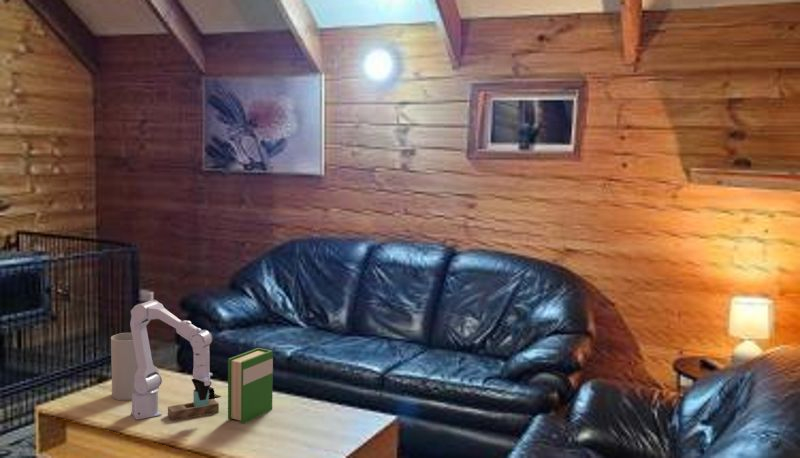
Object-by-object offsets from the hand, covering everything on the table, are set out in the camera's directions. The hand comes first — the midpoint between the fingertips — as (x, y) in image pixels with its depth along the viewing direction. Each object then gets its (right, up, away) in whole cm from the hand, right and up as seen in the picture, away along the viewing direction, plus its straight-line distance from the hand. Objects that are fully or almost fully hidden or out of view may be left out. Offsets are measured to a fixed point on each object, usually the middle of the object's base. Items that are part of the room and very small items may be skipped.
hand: (201, 398), depth 269 cm
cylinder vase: (-38, -5, +26) cm, 46 cm away
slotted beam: (-6, -8, +9) cm, 14 cm away
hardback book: (+16, -9, +11) cm, 21 cm away
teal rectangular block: (0, -3, 0) cm, 3 cm away
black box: (-5, -7, +27) cm, 28 cm away
